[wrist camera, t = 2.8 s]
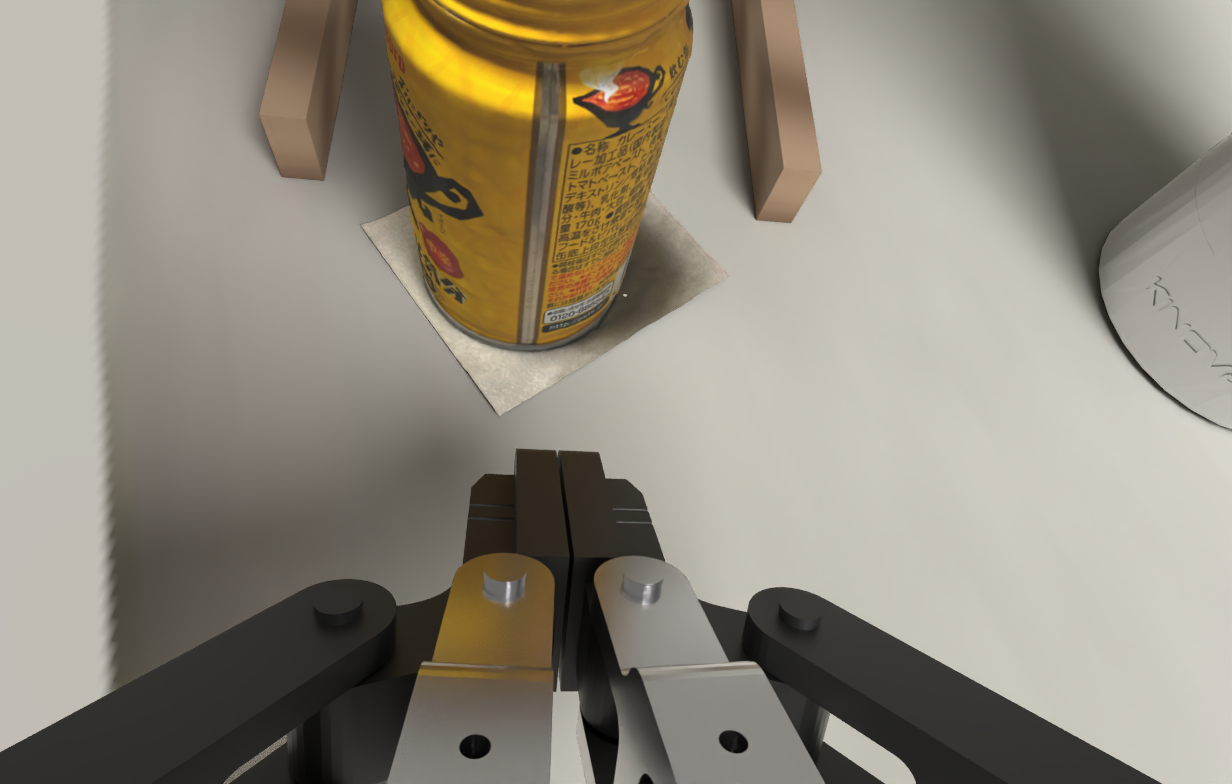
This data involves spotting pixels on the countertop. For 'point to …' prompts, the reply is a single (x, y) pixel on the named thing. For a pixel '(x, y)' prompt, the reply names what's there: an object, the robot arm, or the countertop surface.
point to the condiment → (537, 180)
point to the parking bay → (767, 67)
